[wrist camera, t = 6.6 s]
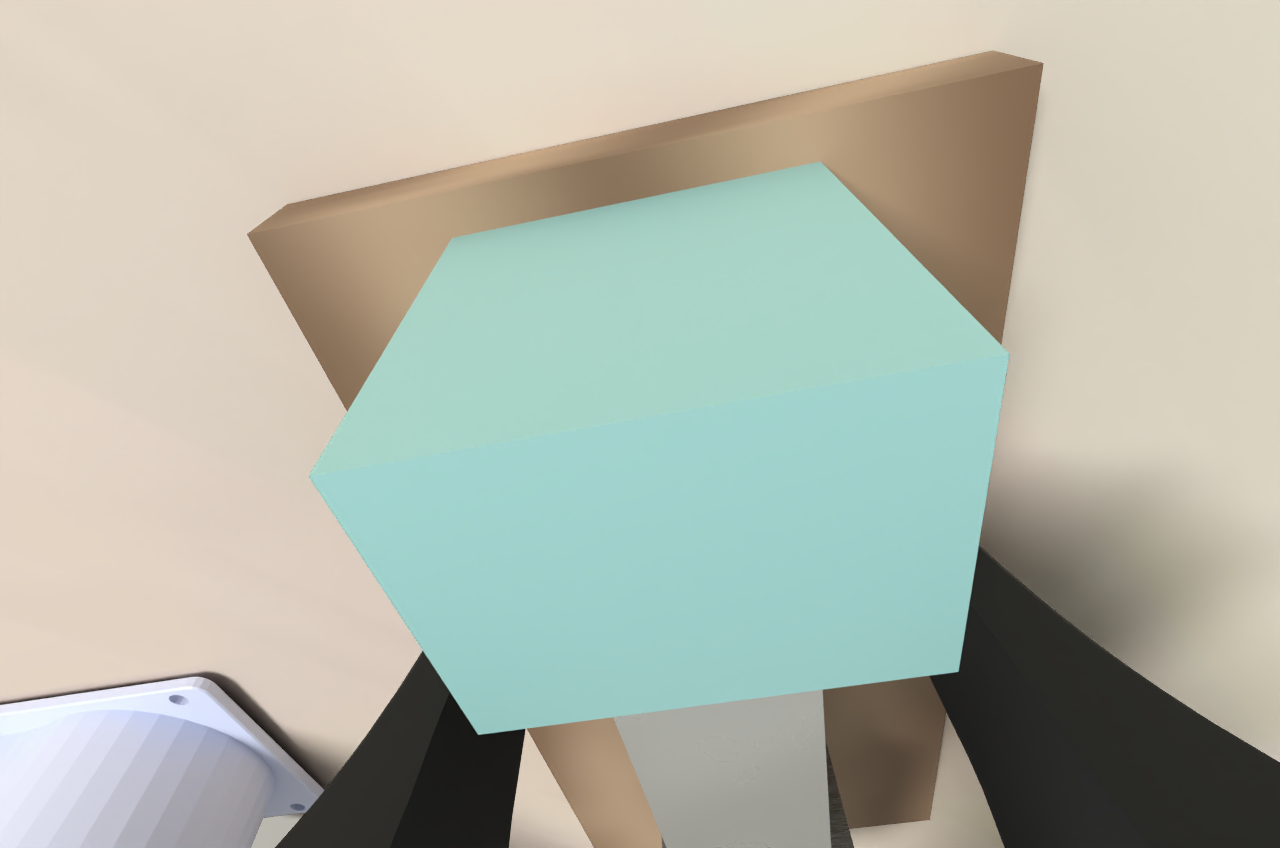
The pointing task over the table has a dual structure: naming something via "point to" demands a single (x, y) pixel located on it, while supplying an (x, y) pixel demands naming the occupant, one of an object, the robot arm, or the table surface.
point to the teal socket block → (675, 456)
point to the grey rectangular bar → (735, 772)
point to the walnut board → (673, 161)
